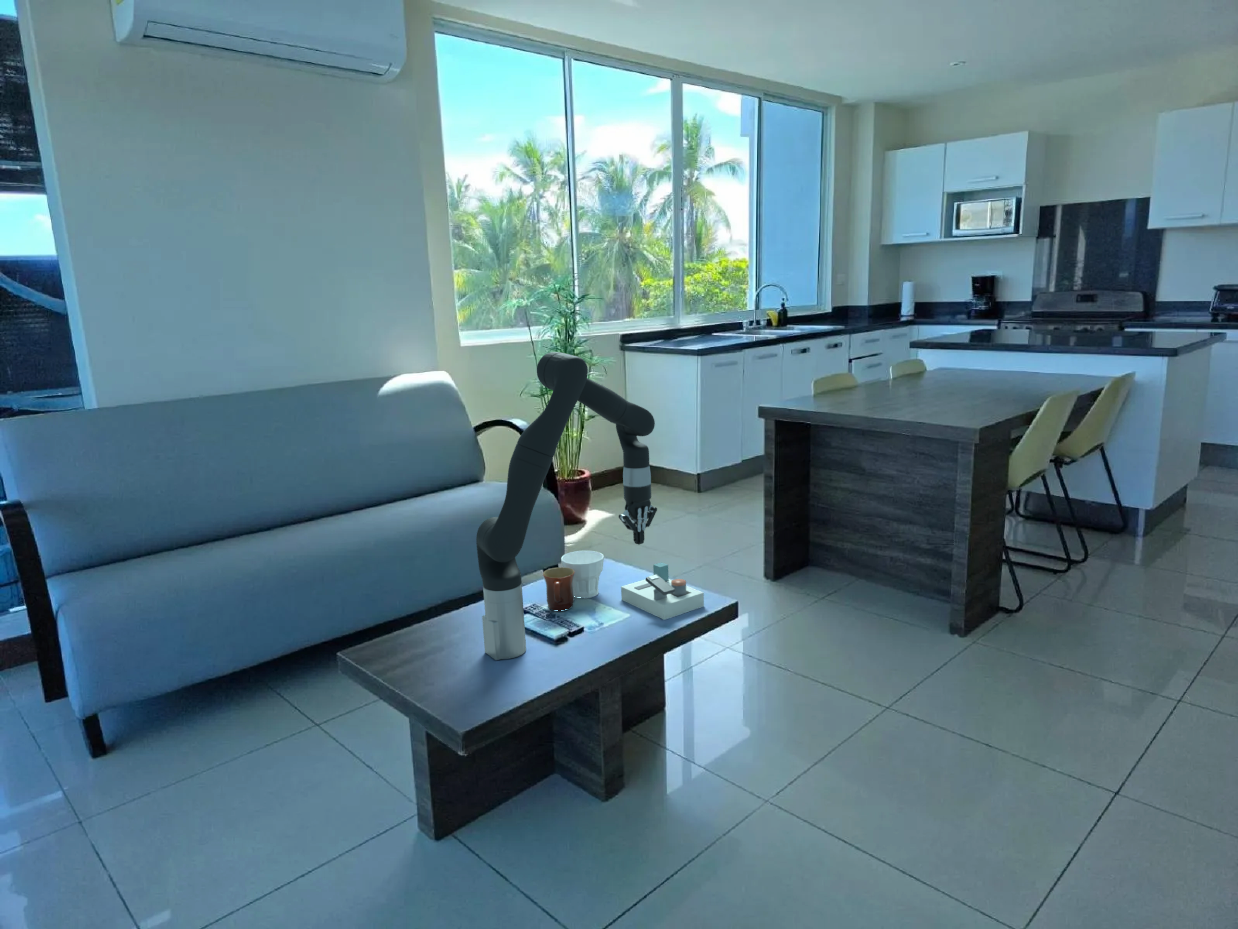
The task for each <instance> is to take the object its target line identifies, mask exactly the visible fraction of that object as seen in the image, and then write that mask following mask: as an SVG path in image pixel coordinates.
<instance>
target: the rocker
mask: <svg viewBox="0 0 1238 929" xmlns="http://www.w3.org/2000/svg"><path fill="white" fill-rule="evenodd" d="M645 579H646V581H647V582H648V583H649V584H650V585H652V586H653V587H654V588H655V589H657V590H658V591H659V592H660V593H661V594H663V595H667V594H670V593H673V592H675V589H674V588H673V587H672V586H671V585H669V584H668V583H667V582H665V581H664V580H663V579H662V578H660V577H659V576H658V575H657V574H656V575H654V574H651V575H649V576H645Z"/></svg>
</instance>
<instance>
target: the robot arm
mask: <svg viewBox="0 0 1238 929" xmlns="http://www.w3.org/2000/svg"><path fill="white" fill-rule="evenodd" d="M588 374H589V370H588V365H587V363H586V361H585V360H584V359H583V358H582V357H580V356H576V355H572V354H569V353H565V352H561V351H550V352H547V353H545V354H544V355H543V356H542V357H541V358H540V359H539V361H538V363H537V365H536V375H537V379H538V381H539V382H540V384H541V385H542V386H543V387H545V388H547V389H549V390H551V391H552V393H551V396H550V398H549V400H548V402H547V405H546V407H545V408H544V410H543V411H542V412H541V413H540V415H539V416H538V417H537V418H535V419H534V421H532V422H531V423H530V424H529V425H528V426H527V427H526V429H524V430H523V432H522V433H521V434H520V436H519V438H518V440H517V441H516V444H515V447H514V450H513V452H512V455H511V458H510V462H509V465H508V470H507V471H508V473H507V482H506V490H505V491H506V494H505V498H504V502H503V504H502V506H501V510H500V512H499V514H498V516H493V517H489V518H486V519H485V520H483V522H481V523H480V525H479V526H478V528H477V532H476V536H475V537H476V538H475V540H476V542H475V543H476V551H477V561H478V570H479V574H480V577H481V582H482V590H483V602H484V603H483V604H484V614H483V615H482V616H481V620H482V621H481V622H482V632H483V633H482V634H483V643H484V644H483V645H484V653H486V654H487V655H488V656H489V657H490V658H492V659H494V660H495V661H499V660H507V659H510V660H511V659H513V658H514V659H515V658H517V657H520V656H522V655H523V654H524V653H526V651H527V642H526V640H527V639H526V629H525V628H526V626H525V614H524V597H523V596H524V594H523V585H522V581H523V580H522V574H521V573H522V572H521V570H520V568H519V565H518V563H517V560H516V557H517V556H518V555H519V553H520V552H521V550H522V548H523V545H524V543H525V539H526V534H527V531H528V527H529V524H530V521H531V517H532V513H533V510H534V507H535V504H536V502H537V501H538V500H537V499H538V497H539V495H540V492H541V489H542V487H543V485H544V482H545V479H546V476H547V474H548V473H549V469H550V467H551V465H552V462H553V459H554V457H555V454H556V451H557V448H558V445H559V443H560V440H561V437H562V435H563V433H564V431H565V428H566V426H567V423H568V421H569V418H571V414H572V413H573V410H574V409H575V407H576V404H577V402H579V403H581V404H582V405H584V406H585V407H587V408H589V409H590V410H591V411H593V412H594V413H596V414H597V415H599V416H600V417H602V418H603V419H605V420H606V421H608V422H610V423H612V424H615V429H616V433H617V437H618V440H619V443H620V446H621V449H622V453H623V459H622V460H623V472H622V478H623V479H622V480H623V481H622V483H623V485H622V486H623V500H624V501H625V506H624V511H623V512H622V513H620V514H619V515H618V519H619V520H620V521H621V522H622V524H623V525H624V527H625V528H626V529H627V530H629V531H632V534H633V543H634V544H636V545H638V546H639V545H642V544H644V542H645V531H646V528H649V527H650V526H651V524H652V522H653V520H654V517H655V516H656V513H657V512H658V508H657V507H655V506H653V505H652V503H651V499H652V476H651V475H652V474H651V468H650V450H649V447H648V445H647V444H644V443H642V442H640V440H639V439H638V437H647V436H649V435H650V434H651V433H653V431H654V429H655V426H656V424H655V422H656V420H655V418H654V416H653V414H652V412H650V411H649V410H648V409H646V408H644V407H642V406H640V405H638V404H635V403H633V402H630V401H628V400H626V399H625V398H623V396H621V395H619V394H618V393H617V392H615V391H614V390H611V388H609V387H606V386H604V385H602V384H600V383H598V382H596V381H594V380H593V379H590V378H588Z"/></svg>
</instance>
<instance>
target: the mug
mask: <svg viewBox="0 0 1238 929" xmlns="http://www.w3.org/2000/svg"><path fill="white" fill-rule="evenodd" d="M574 573H575V571H574V570H573V569H570V568H565V567H563V566H562V567H561V566H559V567H552V568H548V569H546V570H544V571H543V572H542V576H543V579H544V581H545V586H546V588H545V590H546V603H547V607H548V609H549V610H551V609H552V610H551V611H553V610H558V611H557V612H562V611H561V610H565V609H569V610H570V609H572V607H573V606H574V603H575V602H574V601H575V598H574V596H573V577H574Z"/></svg>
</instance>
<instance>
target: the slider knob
mask: <svg viewBox="0 0 1238 929" xmlns="http://www.w3.org/2000/svg"><path fill="white" fill-rule="evenodd" d="M652 568H653V569H652V570H653V575H656V574H657V575H658V576H659V577H660V578H662V579H663V580H664V581H667V580H669V579H670V578H669V564H667V563H665V562H658V563H654V564H653V567H652Z"/></svg>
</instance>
